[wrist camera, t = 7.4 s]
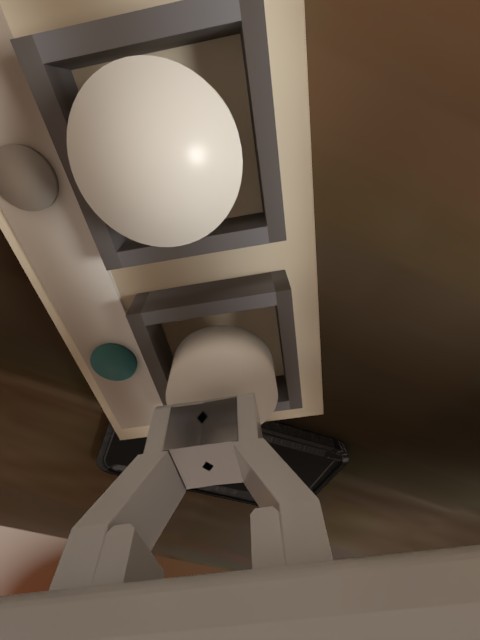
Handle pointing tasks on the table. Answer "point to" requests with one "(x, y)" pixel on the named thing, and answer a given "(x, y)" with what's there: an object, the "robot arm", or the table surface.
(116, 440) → the phone
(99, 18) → the button board
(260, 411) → the button
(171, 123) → the middle button
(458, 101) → the table surface
